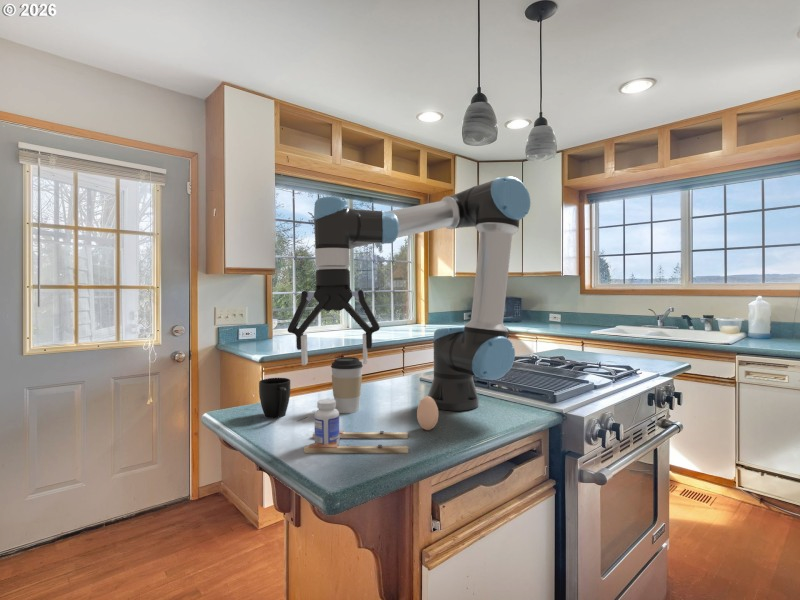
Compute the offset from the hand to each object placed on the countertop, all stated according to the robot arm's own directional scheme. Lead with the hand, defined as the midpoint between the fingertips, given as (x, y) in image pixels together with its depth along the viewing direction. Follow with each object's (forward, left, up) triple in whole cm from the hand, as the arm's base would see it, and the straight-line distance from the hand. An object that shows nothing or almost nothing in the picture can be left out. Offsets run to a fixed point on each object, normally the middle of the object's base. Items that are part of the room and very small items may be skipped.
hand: (335, 363), depth 96 cm
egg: (-21, -9, -18) cm, 29 cm away
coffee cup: (+1, -26, -18) cm, 32 cm away
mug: (+19, -19, -18) cm, 32 cm away
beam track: (-5, +1, -18) cm, 19 cm away
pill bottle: (+2, +1, -18) cm, 18 cm away
